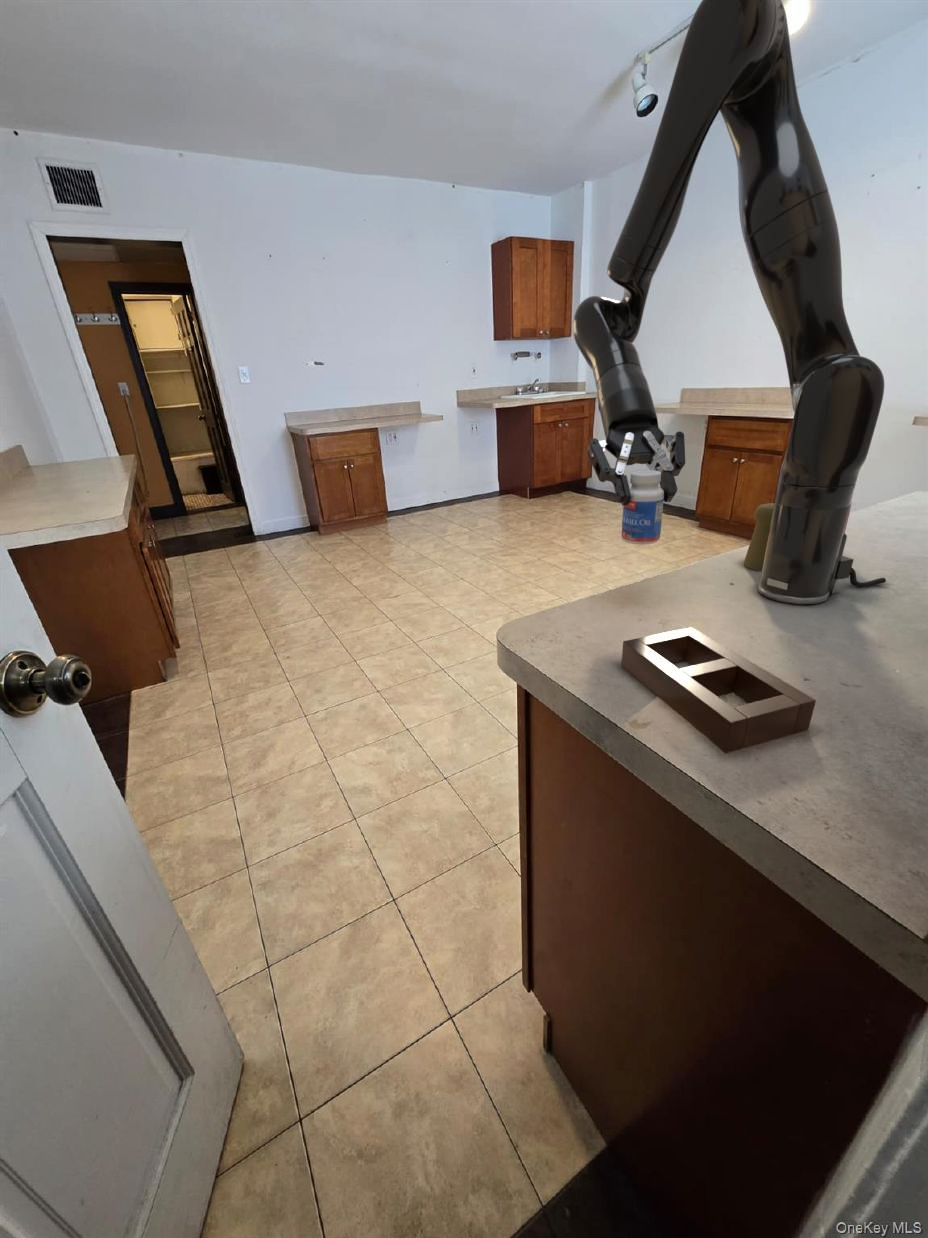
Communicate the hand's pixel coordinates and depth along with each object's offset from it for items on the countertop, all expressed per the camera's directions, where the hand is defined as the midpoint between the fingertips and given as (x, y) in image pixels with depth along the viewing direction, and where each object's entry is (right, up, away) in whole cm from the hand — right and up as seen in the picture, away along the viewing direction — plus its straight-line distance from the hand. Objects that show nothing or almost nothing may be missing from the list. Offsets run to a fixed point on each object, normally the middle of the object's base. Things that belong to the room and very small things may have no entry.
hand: (648, 500), depth 71 cm
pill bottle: (0, -5, +4) cm, 7 cm away
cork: (+28, -7, +21) cm, 36 cm away
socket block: (+1, -25, -14) cm, 29 cm away
